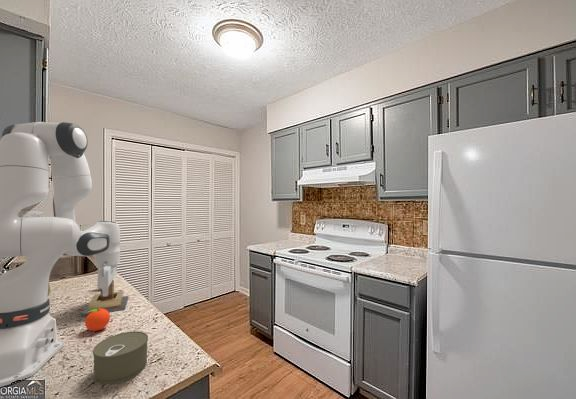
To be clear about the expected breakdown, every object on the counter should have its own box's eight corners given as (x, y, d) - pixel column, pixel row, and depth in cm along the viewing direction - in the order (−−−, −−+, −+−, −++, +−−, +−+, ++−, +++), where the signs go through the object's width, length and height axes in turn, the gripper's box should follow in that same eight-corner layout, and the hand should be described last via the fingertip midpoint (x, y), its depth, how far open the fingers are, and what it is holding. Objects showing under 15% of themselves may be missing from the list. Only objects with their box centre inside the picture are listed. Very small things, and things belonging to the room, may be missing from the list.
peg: (112, 304, 106) (112, 283, 106) (100, 306, 104) (100, 284, 104) (113, 301, 109) (113, 280, 109) (102, 303, 108) (102, 281, 108)
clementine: (76, 336, 83) (76, 314, 83) (87, 326, 89) (87, 306, 89) (105, 333, 85) (105, 311, 85) (113, 323, 91) (113, 303, 91)
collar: (125, 309, 104) (125, 299, 104) (81, 316, 97) (81, 305, 97) (128, 297, 116) (128, 289, 116) (90, 303, 110) (90, 294, 110)
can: (156, 355, 73) (156, 330, 73) (131, 385, 61) (132, 356, 61) (113, 355, 72) (113, 331, 73) (80, 386, 60) (80, 357, 61)
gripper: (112, 264, 99) (112, 300, 99) (119, 254, 117) (119, 284, 117) (92, 266, 96) (92, 303, 96) (102, 255, 114) (102, 286, 114)
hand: (107, 292), depth 107 cm, fingers open, 6 cm apart
